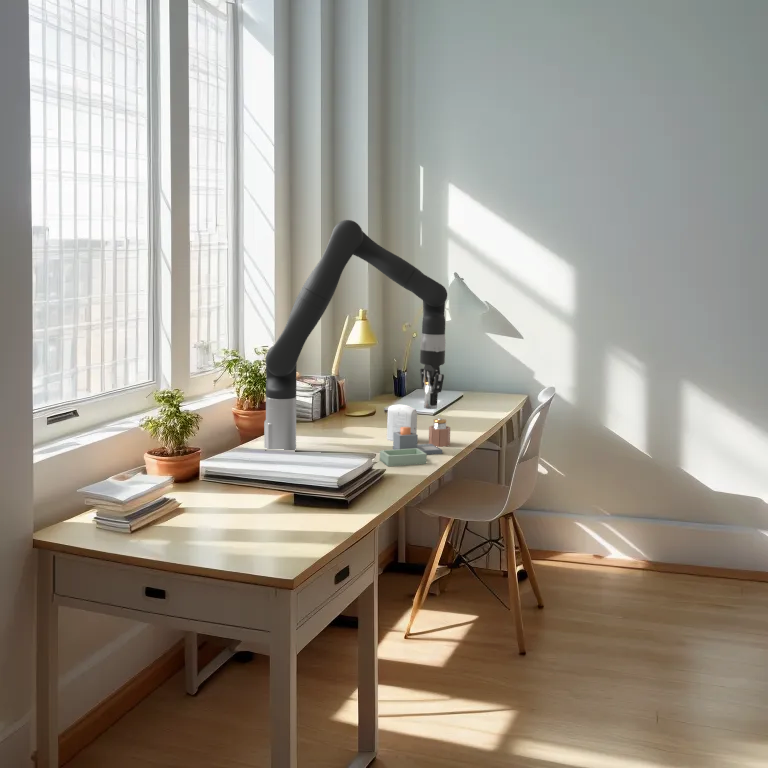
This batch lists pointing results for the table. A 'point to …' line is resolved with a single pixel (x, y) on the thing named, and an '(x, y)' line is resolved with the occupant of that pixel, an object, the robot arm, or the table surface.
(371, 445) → the table surface
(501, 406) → the table surface
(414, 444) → the grey stepped block
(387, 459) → the trough
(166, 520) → the table surface
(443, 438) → the cup
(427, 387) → the cylinder
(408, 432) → the button
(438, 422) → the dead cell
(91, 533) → the table surface
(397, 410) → the photo printer
